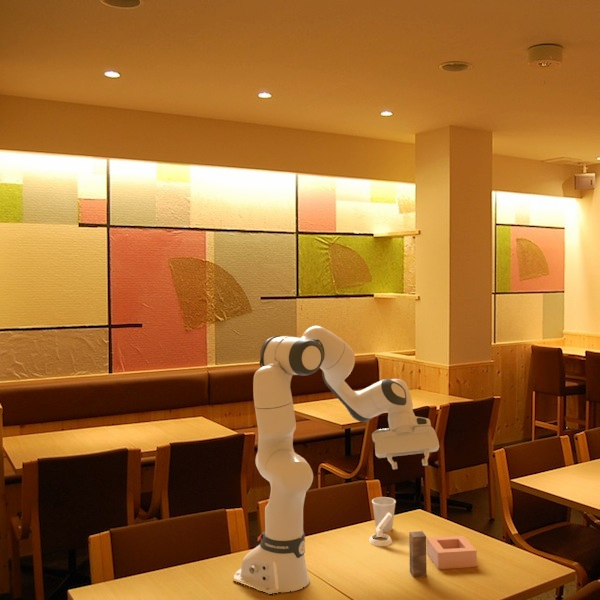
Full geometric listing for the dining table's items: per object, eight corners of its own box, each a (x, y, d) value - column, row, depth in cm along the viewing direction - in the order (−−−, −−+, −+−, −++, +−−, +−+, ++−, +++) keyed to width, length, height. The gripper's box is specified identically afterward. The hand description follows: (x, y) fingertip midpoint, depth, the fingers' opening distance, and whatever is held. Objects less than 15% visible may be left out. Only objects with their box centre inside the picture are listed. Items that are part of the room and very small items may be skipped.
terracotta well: (438, 569, 211) (437, 552, 211) (426, 553, 223) (426, 537, 223) (476, 566, 213) (476, 550, 212) (463, 550, 225) (463, 535, 224)
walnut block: (413, 577, 206) (412, 537, 206) (409, 571, 210) (409, 531, 210) (426, 576, 207) (426, 536, 206) (422, 570, 211) (422, 531, 210)
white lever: (408, 530, 229) (391, 520, 227) (386, 558, 231) (369, 548, 229) (402, 517, 236) (386, 508, 234) (381, 544, 238) (365, 535, 236)
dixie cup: (372, 524, 249) (371, 496, 248) (395, 524, 248) (395, 497, 248) (372, 533, 241) (371, 504, 240) (396, 533, 240) (396, 505, 239)
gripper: (370, 426, 225) (376, 466, 216) (434, 418, 224) (443, 458, 215) (371, 434, 230) (377, 474, 221) (433, 427, 229) (442, 467, 220)
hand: (410, 466), depth 218 cm, fingers open, 8 cm apart
